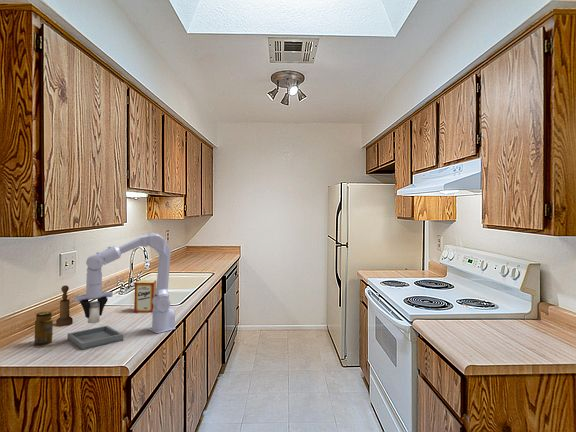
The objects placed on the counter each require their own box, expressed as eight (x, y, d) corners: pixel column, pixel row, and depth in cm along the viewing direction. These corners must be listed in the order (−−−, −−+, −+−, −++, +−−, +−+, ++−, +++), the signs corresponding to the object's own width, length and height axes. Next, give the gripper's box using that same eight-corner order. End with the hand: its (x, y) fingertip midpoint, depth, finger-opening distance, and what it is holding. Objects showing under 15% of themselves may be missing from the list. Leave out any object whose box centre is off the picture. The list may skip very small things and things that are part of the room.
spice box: (155, 309, 207) (156, 279, 207) (153, 312, 201) (153, 282, 201) (137, 309, 206) (137, 279, 206) (134, 312, 200) (134, 282, 199)
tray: (107, 331, 169) (107, 325, 169) (123, 340, 158) (123, 334, 158) (67, 339, 157) (67, 333, 157) (81, 350, 147) (81, 343, 147)
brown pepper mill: (57, 327, 173) (58, 287, 172) (54, 323, 178) (55, 285, 177) (74, 324, 177) (74, 286, 177) (70, 321, 182) (71, 283, 182)
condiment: (50, 338, 158) (51, 309, 158) (57, 343, 153) (57, 314, 152) (30, 342, 153) (30, 312, 153) (35, 348, 147) (36, 317, 147)
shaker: (96, 319, 163) (97, 300, 162) (101, 321, 160) (101, 302, 159) (85, 321, 159) (85, 302, 159) (90, 324, 156) (90, 304, 156)
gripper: (107, 280, 167) (107, 311, 167) (71, 284, 156) (71, 317, 157) (114, 282, 162) (114, 314, 163) (78, 287, 152) (77, 321, 152)
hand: (93, 316), depth 159 cm, fingers closed on shaker, 4 cm apart
